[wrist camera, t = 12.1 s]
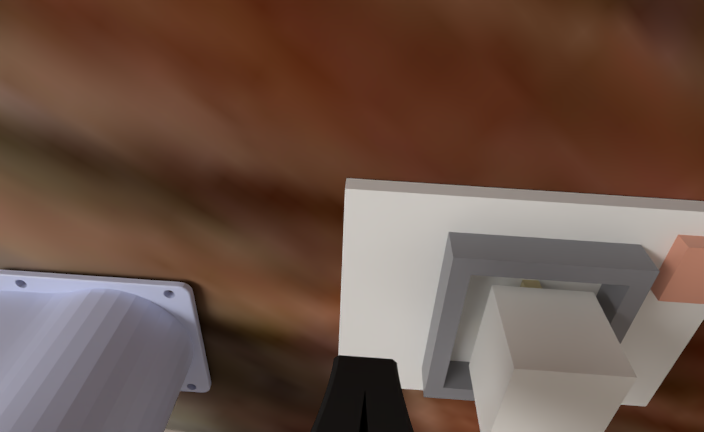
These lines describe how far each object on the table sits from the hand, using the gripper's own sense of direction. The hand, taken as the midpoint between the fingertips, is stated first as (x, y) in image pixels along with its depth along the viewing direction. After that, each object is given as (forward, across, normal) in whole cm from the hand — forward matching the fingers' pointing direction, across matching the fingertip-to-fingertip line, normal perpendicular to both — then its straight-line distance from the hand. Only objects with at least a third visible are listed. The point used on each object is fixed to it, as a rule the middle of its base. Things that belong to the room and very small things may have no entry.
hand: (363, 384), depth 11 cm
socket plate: (+9, -7, +6) cm, 13 cm away
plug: (+9, -7, +6) cm, 13 cm away
